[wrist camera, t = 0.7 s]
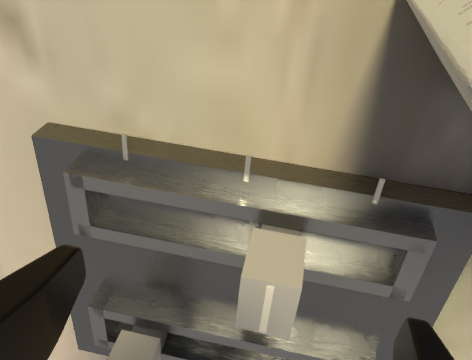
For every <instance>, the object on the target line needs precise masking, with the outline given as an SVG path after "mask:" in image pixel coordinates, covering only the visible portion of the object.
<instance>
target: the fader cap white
mask: <svg viewBox="0 0 472 360" xmlns="http://www.w3.org/2000/svg"><path fill="white" fill-rule="evenodd" d="M166 338H167V332H163V331H159V330H155V329H150V328H146V327H141V326H137V325H134V327H133V329H132V331H131V332H130V331H125V330H121V332H120V334H119V336H118V338H117V340H116V342H115V344H114V346H113V348H112V350H111V352H110V354H109V356H108V358H107V360H161V351H162V349H163V346H164V343H165V341H166Z"/></svg>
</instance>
